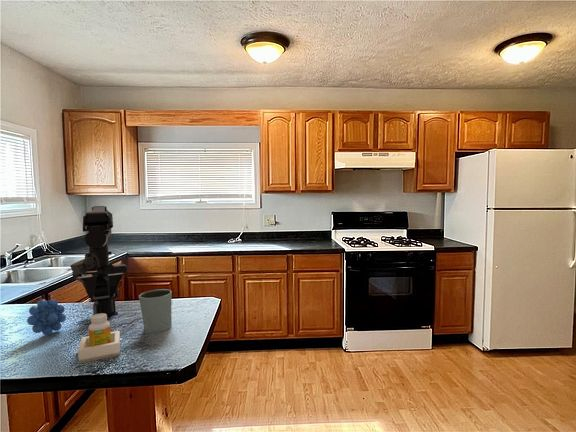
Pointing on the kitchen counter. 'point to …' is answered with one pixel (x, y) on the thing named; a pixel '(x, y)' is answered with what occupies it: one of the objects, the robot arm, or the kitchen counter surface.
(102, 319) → the supplement bottle
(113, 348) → the cream square tray
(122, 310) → the kitchen counter surface
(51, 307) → the grapes
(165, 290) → the grey green cup
